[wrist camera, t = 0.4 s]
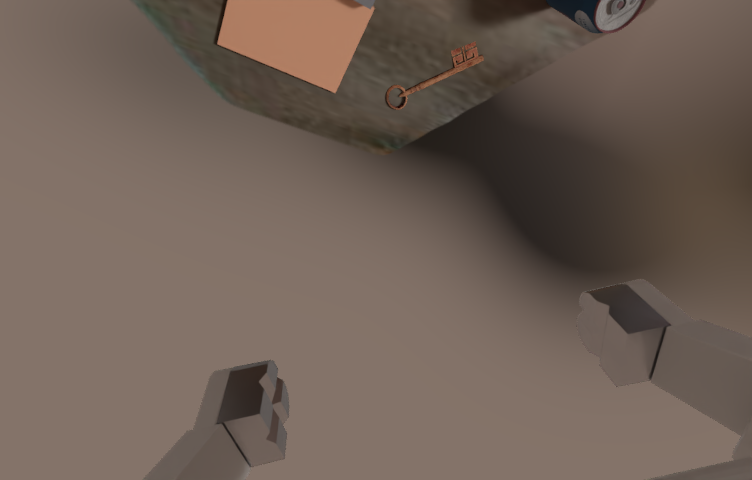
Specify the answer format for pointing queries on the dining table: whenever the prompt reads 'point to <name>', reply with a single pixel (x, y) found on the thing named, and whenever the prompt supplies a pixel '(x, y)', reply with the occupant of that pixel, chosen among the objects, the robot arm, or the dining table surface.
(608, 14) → the soda can
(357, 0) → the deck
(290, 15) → the mat
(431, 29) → the dining table surface
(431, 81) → the key
